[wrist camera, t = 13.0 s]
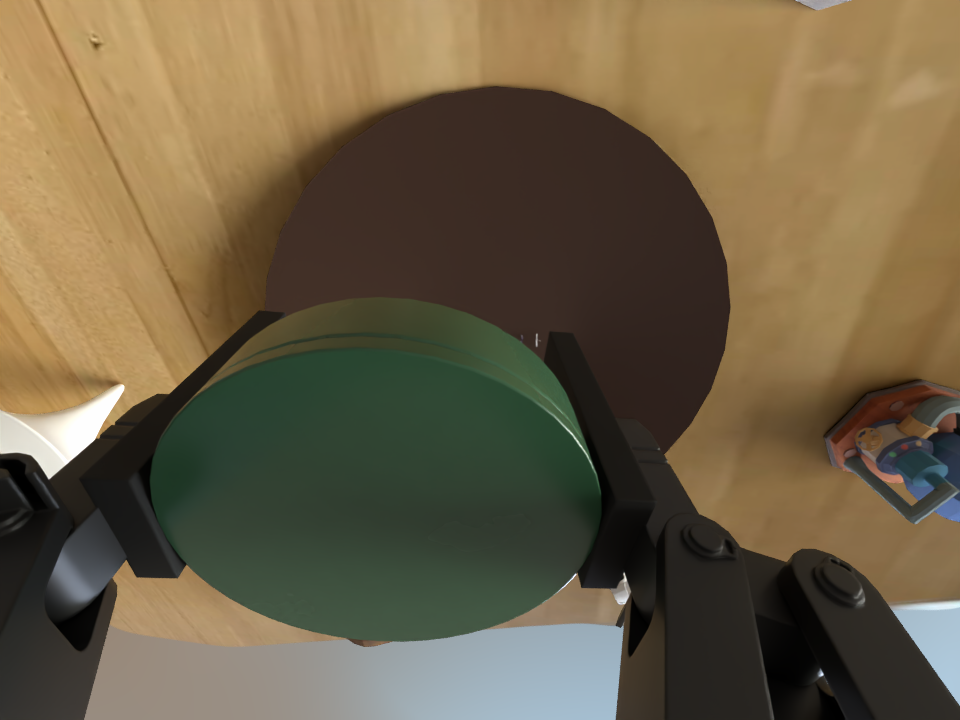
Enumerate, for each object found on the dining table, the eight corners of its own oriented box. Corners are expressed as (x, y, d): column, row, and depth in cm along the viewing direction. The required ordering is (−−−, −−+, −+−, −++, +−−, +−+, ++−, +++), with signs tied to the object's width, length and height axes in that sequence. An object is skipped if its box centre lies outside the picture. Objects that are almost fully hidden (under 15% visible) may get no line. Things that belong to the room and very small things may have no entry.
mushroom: (-1, 368, 27) (-290, 525, 17) (102, 288, 24) (-166, 416, 14) (139, 463, 32) (-18, 631, 21) (238, 405, 29) (113, 564, 19)
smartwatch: (625, 567, 41) (640, 607, 37) (605, 573, 41) (618, 614, 38) (615, 547, 39) (629, 588, 36) (594, 554, 40) (606, 595, 36)
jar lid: (511, 584, 12) (519, 659, 10) (218, 544, 11) (173, 623, 9) (643, 353, 8) (690, 415, 6) (196, 241, 7) (106, 283, 5)
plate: (781, 78, 20) (841, 71, 17) (661, 478, 34) (681, 515, 31) (205, 94, 19) (154, 90, 16) (331, 492, 34) (317, 531, 31)
